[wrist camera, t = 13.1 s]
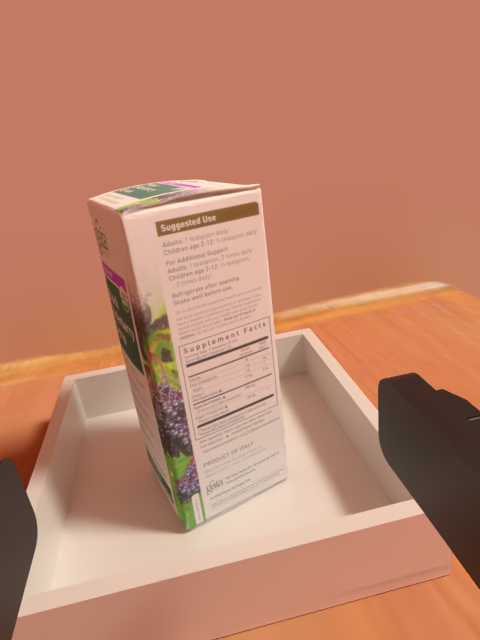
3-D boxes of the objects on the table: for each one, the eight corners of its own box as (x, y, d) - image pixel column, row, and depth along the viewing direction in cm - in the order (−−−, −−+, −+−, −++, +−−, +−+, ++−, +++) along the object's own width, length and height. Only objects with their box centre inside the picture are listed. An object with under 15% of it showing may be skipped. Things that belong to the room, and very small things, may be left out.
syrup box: (146, 465, 25) (75, 196, 19) (240, 423, 28) (201, 172, 22) (187, 536, 20) (110, 208, 15) (296, 478, 23) (265, 177, 17)
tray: (16, 693, 16) (-20, 627, 15) (79, 422, 31) (65, 376, 29) (450, 574, 18) (455, 505, 17) (312, 373, 33) (309, 327, 31)
